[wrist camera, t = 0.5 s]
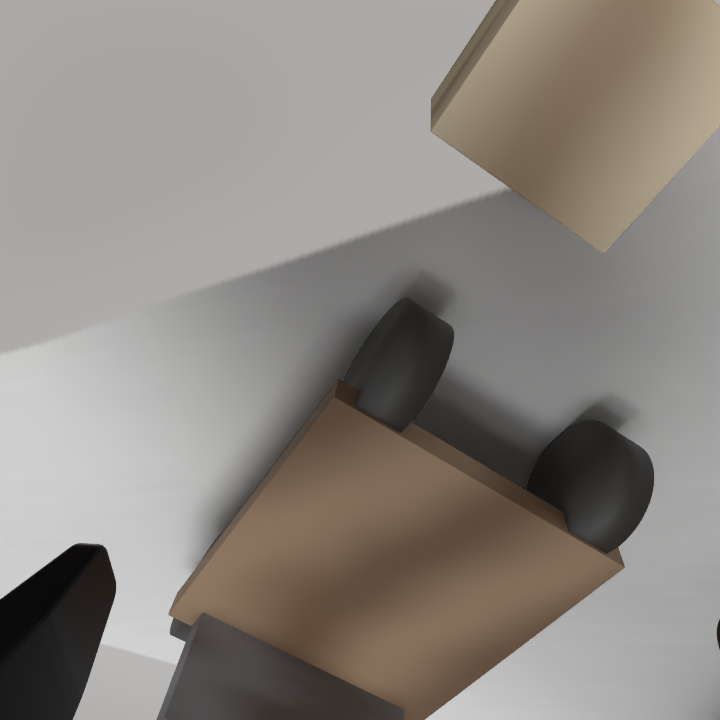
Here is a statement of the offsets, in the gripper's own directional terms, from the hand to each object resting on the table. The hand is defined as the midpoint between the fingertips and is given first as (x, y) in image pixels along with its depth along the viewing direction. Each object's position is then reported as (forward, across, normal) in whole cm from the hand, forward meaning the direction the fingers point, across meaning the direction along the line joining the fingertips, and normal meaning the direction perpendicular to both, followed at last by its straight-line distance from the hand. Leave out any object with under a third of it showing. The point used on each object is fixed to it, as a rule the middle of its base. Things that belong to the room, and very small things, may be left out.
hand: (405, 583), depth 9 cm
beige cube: (+13, -4, -5) cm, 15 cm away
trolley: (+13, +1, +11) cm, 17 cm away
